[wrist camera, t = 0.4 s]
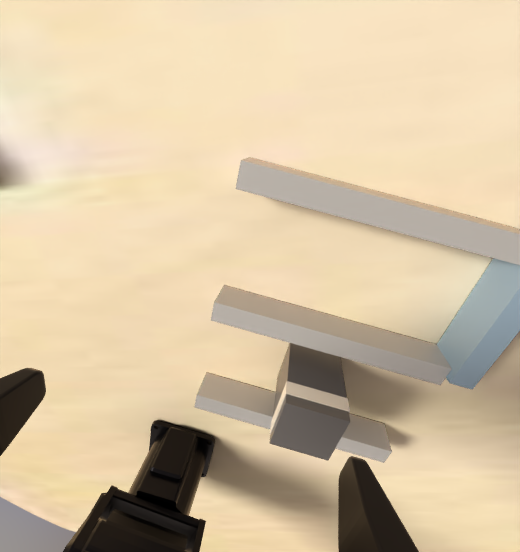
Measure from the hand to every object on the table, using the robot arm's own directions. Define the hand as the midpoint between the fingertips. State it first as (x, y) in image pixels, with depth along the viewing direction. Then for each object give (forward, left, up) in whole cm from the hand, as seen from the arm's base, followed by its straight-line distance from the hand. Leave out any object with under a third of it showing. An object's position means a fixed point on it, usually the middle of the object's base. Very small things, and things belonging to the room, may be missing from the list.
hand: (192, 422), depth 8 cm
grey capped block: (-8, -6, -13) cm, 17 cm away
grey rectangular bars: (-4, -6, -13) cm, 15 cm away
